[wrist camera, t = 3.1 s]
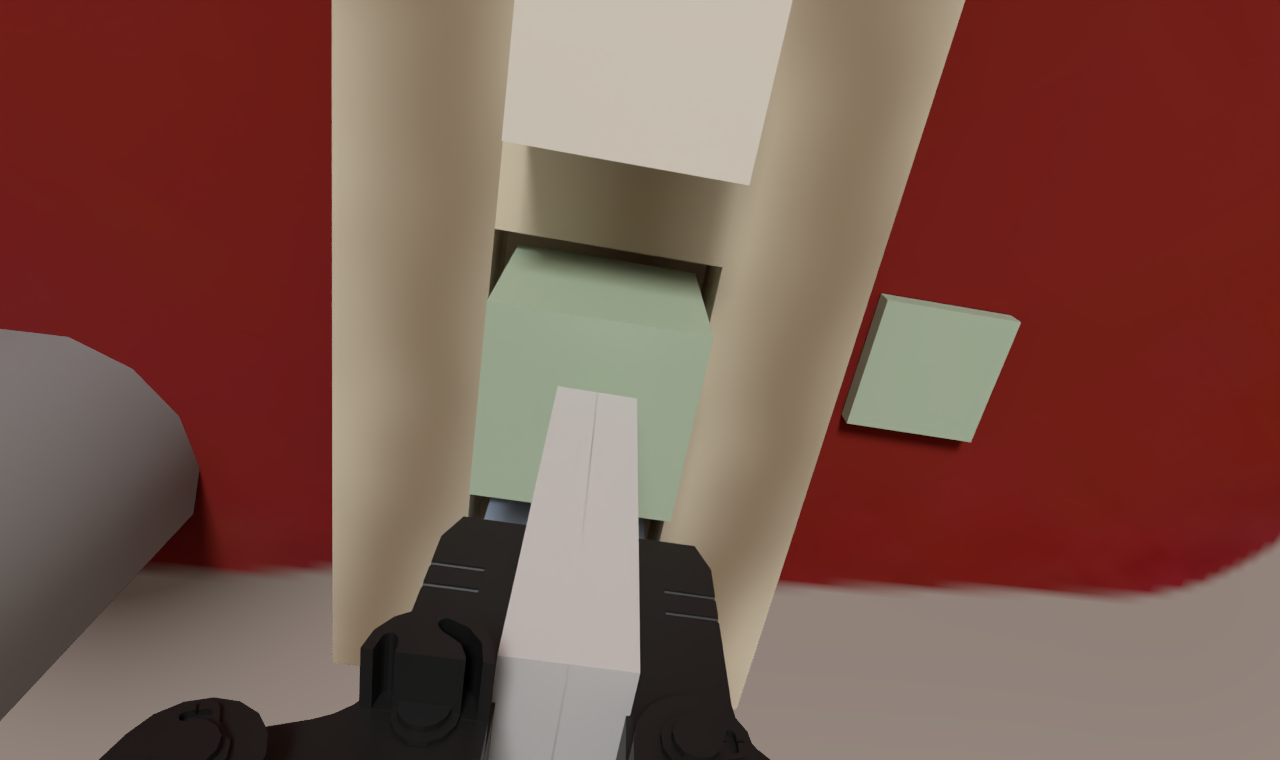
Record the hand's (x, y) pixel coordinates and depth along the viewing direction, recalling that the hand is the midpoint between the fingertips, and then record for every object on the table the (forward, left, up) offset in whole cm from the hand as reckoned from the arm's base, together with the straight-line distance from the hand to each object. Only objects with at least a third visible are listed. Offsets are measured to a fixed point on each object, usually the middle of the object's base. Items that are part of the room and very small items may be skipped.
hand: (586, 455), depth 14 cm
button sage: (0, 0, -6) cm, 6 cm away
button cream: (0, +8, -6) cm, 10 cm away
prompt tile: (+10, 0, -8) cm, 13 cm away
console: (0, 0, -8) cm, 8 cm away
